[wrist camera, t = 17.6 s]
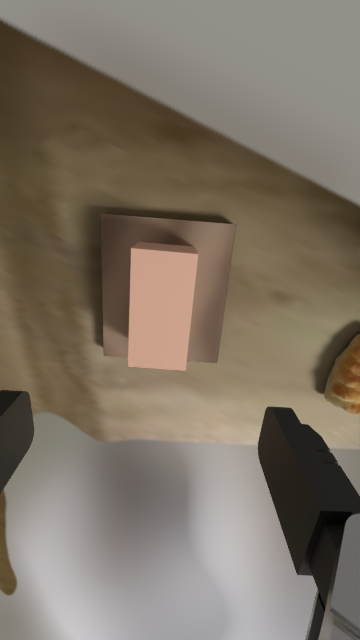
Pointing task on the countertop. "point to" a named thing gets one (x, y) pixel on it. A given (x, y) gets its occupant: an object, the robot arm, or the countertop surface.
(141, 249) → the tall block
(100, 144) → the countertop surface
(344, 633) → the robot arm
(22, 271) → the countertop surface
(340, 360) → the pastry
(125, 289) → the walnut board
